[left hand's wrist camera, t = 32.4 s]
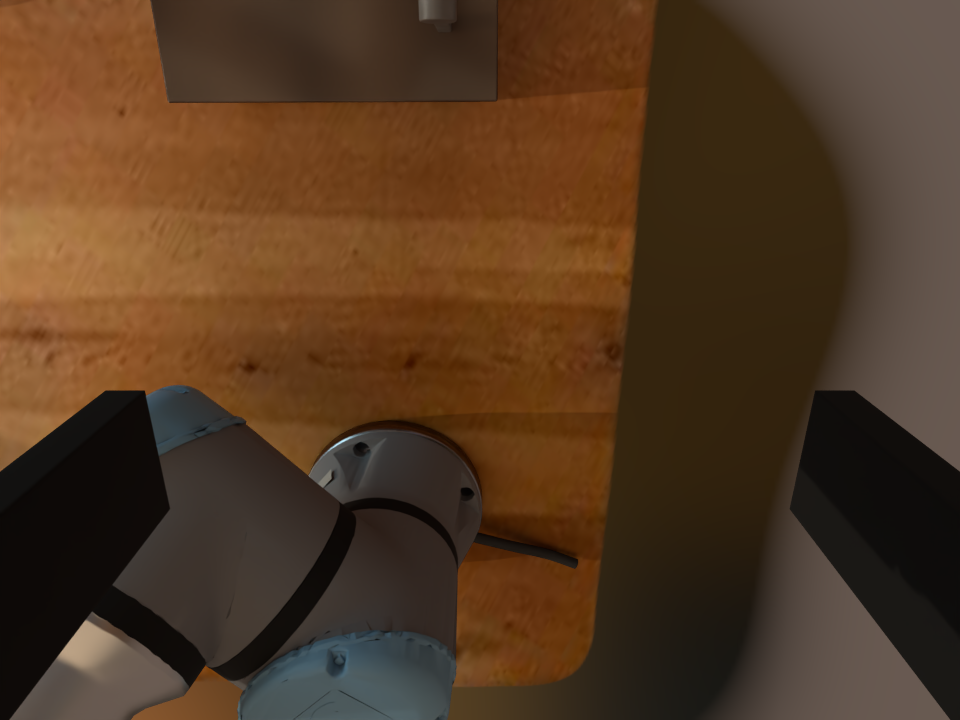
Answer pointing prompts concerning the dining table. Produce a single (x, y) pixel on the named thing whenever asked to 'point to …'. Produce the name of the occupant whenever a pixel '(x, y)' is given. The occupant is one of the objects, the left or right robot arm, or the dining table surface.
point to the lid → (328, 50)
